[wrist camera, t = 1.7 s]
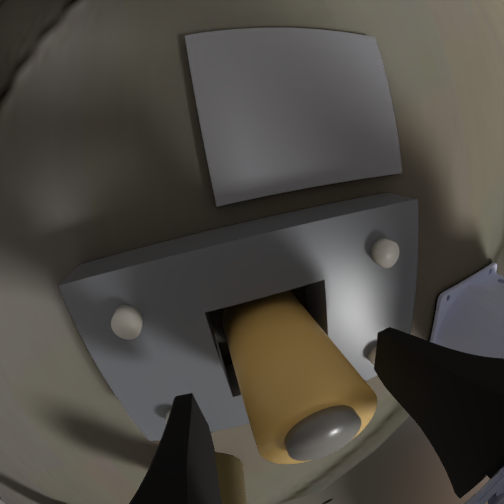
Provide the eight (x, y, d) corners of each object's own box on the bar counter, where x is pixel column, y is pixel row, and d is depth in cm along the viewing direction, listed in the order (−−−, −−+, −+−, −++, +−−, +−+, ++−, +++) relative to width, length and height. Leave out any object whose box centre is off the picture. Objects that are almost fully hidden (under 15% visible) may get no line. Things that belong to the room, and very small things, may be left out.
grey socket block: (386, 192, 14) (426, 200, 11) (384, 340, 17) (410, 365, 14) (78, 264, 11) (52, 291, 8) (150, 411, 14) (149, 449, 11)
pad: (371, 39, 11) (375, 37, 10) (397, 172, 13) (402, 173, 13) (184, 38, 9) (184, 35, 9) (216, 205, 12) (216, 206, 12)
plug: (293, 272, 14) (391, 372, 6) (301, 336, 15) (374, 442, 8) (213, 293, 13) (249, 427, 6) (231, 356, 14) (270, 483, 7)
